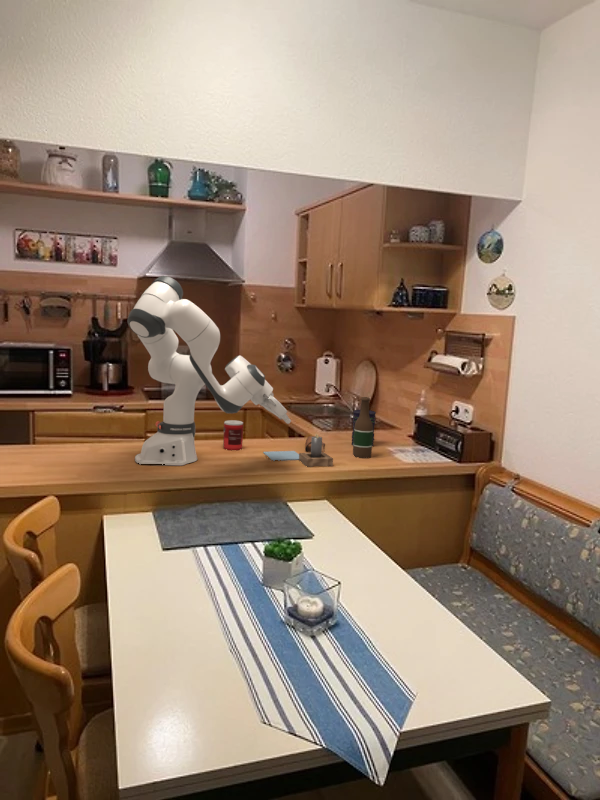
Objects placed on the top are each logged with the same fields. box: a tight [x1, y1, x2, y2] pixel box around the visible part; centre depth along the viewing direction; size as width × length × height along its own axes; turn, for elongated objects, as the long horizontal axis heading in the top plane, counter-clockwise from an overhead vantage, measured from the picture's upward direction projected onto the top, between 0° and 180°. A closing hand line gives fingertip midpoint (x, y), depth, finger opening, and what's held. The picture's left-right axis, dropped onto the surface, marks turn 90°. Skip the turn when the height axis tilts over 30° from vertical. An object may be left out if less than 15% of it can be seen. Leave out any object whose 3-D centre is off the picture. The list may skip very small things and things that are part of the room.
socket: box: [298, 452, 334, 468], centre depth 231 cm, size 10×10×3 cm
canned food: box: [222, 419, 244, 451], centre depth 249 cm, size 8×8×11 cm
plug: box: [310, 433, 323, 458], centre depth 231 cm, size 4×4×11 cm
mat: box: [262, 450, 299, 462], centre depth 240 cm, size 13×13×1 cm
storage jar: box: [351, 409, 377, 447], centre depth 268 cm, size 10×10×15 cm
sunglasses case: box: [304, 435, 326, 453], centre depth 258 cm, size 18×7×7 cm
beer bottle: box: [352, 396, 373, 459], centre depth 245 cm, size 8×8×24 cm
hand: (285, 420), depth 224 cm, fingers open, 8 cm apart
